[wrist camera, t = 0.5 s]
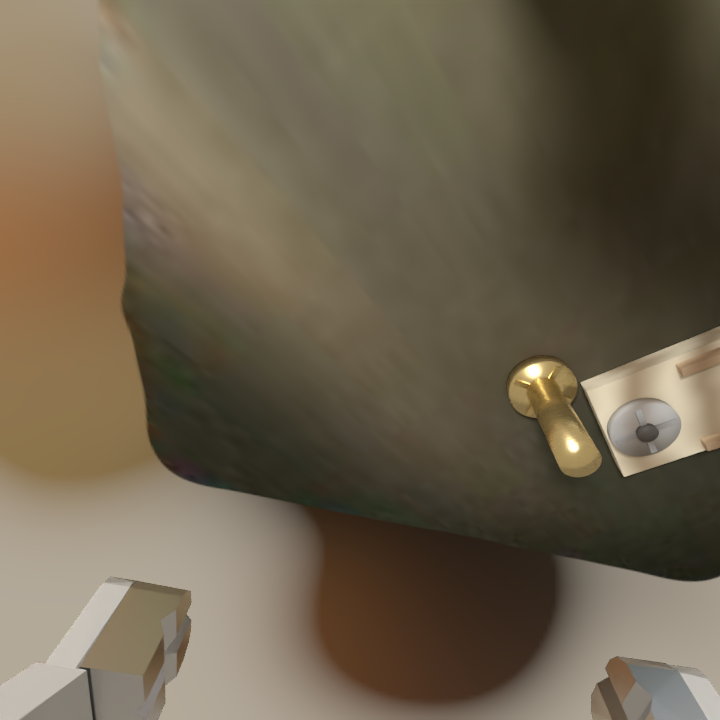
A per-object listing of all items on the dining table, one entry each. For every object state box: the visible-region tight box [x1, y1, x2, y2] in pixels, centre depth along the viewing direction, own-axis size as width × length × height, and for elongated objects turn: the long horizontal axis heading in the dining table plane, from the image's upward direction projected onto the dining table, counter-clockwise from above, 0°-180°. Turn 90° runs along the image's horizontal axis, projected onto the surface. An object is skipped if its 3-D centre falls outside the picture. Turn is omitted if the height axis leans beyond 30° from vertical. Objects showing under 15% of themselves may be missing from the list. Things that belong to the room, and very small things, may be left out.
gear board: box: [580, 326, 720, 477], centre depth 45 cm, size 22×13×4 cm, turn 121°
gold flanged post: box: [506, 355, 602, 477], centre depth 43 cm, size 7×7×13 cm
